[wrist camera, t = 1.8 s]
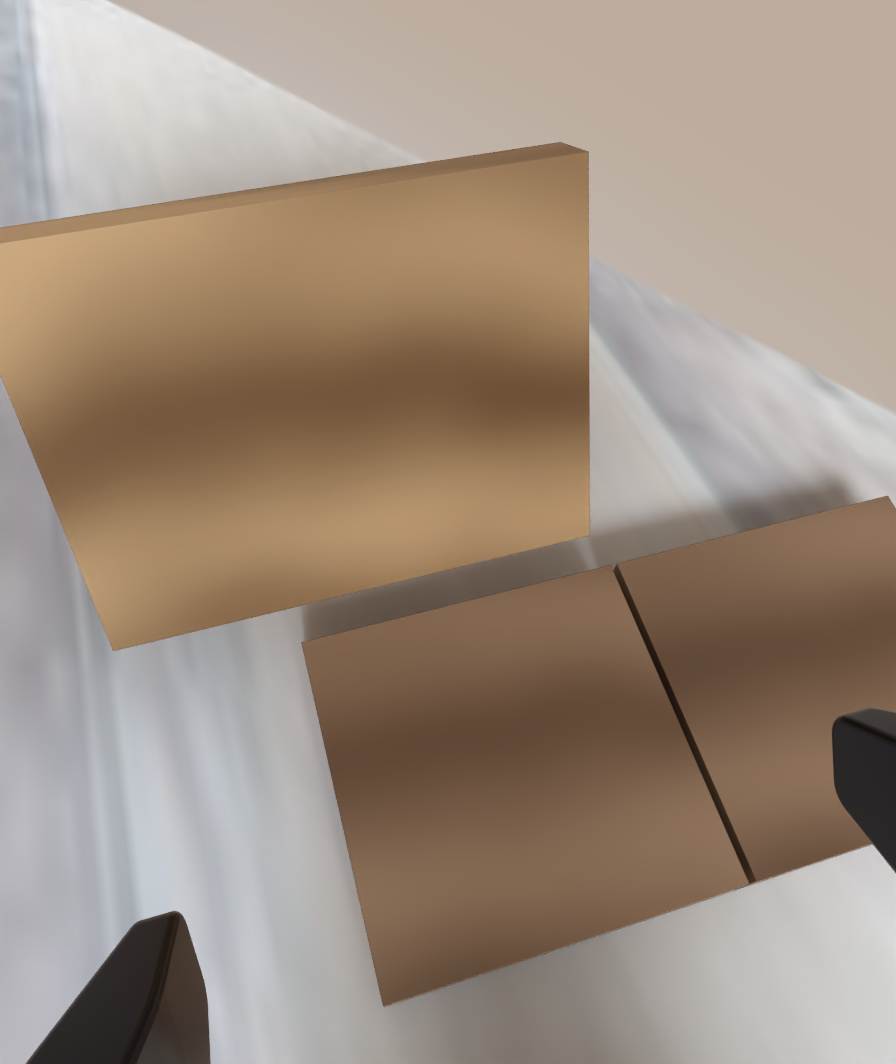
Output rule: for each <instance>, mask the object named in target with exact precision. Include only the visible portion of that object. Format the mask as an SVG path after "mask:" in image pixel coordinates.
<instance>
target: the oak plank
mask: <svg viewBox="0 0 896 1064" xmlns="http://www.w3.org/2000/svg"><path fill="white" fill-rule="evenodd" d="M588 154H589V152H588V151H585V150H581V149H579V148H576V147H573V146H570V145H567V144H564V143H561V142H559V143H552V144H545V145H538V146H532V147H525V148H519V149H512V150H506V151H500V152H493V153H486V154H480V155H473V156H467V157H460V158H454V159H447V160H440V161H434V162H427V163H421V164H414V165H408V166H401V167H395V168H388V169H381V170H375V171H368V172H362V173H355V174H349V175H342V176H336V177H329V178H323V179H316V180H309V181H303V182H296V183H290V184H283V185H277V186H270V187H264V188H257V189H251V190H244V191H238V192H231V193H224V194H218V195H211V196H205V197H198V198H192V199H185V200H179V201H172V202H166V203H159V204H152V205H146V206H139V207H133V208H126V209H120V210H113V211H107V212H100V213H94V214H87V215H81V216H74V217H67V218H61V219H54V220H48V221H41V222H35V223H28V224H22V225H15V226H9V227H2V228H0V375H1V378H2V380H3V383H4V385H5V387H6V390H7V392H8V395H9V397H10V400H11V402H12V405H13V407H14V409H15V412H16V414H17V417H18V419H19V422H20V424H21V427H22V429H23V431H24V434H25V436H26V439H27V441H28V444H29V446H30V448H31V451H32V453H33V456H34V458H35V461H36V463H37V466H38V468H39V470H40V473H41V475H42V478H43V480H44V483H45V485H46V488H47V490H48V492H49V495H50V497H51V500H52V502H53V505H54V507H55V510H56V512H57V514H58V517H59V519H60V522H61V524H62V527H63V529H64V532H65V534H66V536H67V539H68V541H69V544H70V546H71V549H72V551H73V554H74V556H75V558H76V561H77V563H78V566H79V568H80V571H81V573H82V575H83V578H84V580H85V583H86V585H87V588H88V590H89V593H90V595H91V597H92V600H93V602H94V605H95V607H96V610H97V612H98V615H99V617H100V619H101V622H102V624H103V627H104V629H105V632H106V634H107V637H108V639H109V641H110V644H111V646H112V649H113V651H116V650H120V649H124V648H128V647H132V646H137V645H141V644H145V643H149V642H153V641H157V640H161V639H165V638H170V637H174V636H178V635H182V634H186V633H190V632H194V631H198V630H203V629H207V628H211V627H215V626H219V625H223V624H227V623H231V622H236V621H240V620H244V619H248V618H252V617H256V616H260V615H264V614H269V613H273V612H277V611H281V610H285V609H289V608H293V607H297V606H301V605H306V604H310V603H314V602H318V601H322V600H326V599H330V598H334V597H339V596H343V595H347V594H351V593H355V592H359V591H363V590H367V589H372V588H376V587H380V586H384V585H388V584H392V583H396V582H400V581H405V580H409V579H413V578H417V577H421V576H425V575H429V574H433V573H438V572H442V571H446V570H450V569H454V568H458V567H462V566H466V565H471V564H475V563H479V562H483V561H487V560H491V559H495V558H499V557H504V556H508V555H512V554H516V553H520V552H524V551H528V550H532V549H536V548H541V547H545V546H549V545H553V544H557V543H561V542H565V541H569V540H574V539H578V538H582V537H586V536H590V473H589V168H588V167H589V155H588Z"/></svg>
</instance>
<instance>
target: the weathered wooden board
mask: <svg viewBox="0 0 896 1064" xmlns="http://www.w3.org/2000/svg"><path fill="white" fill-rule="evenodd" d="M301 643H302V647H303V652H304V656H305V661H306V665H307V670H308V674H309V678H310V683H311V687H312V692H313V696H314V701H315V705H316V710H317V714H318V718H319V723H320V727H321V732H322V736H323V741H324V745H325V750H326V754H327V758H328V763H329V767H330V772H331V776H332V781H333V785H334V790H335V794H336V799H337V803H338V807H339V812H340V816H341V821H342V825H343V830H344V834H345V839H346V843H347V847H348V852H349V856H350V861H351V865H352V870H353V874H354V879H355V883H356V887H357V892H358V896H359V901H360V905H361V910H362V914H363V919H364V923H365V927H366V932H367V936H368V941H369V945H370V950H371V954H372V959H373V963H374V968H375V972H376V976H377V981H378V985H379V990H380V994H381V999H382V1003H383V1006H384V1007H386V1006H389V1005H392V1004H395V1003H398V1002H401V1001H404V1000H407V999H410V998H413V997H416V996H419V995H422V994H425V993H428V992H431V991H434V990H437V989H440V988H443V987H446V986H449V985H452V984H455V983H458V982H461V981H464V980H467V979H470V978H473V977H476V976H479V975H482V974H485V973H488V972H491V971H494V970H497V969H500V968H503V967H506V966H509V965H512V964H515V963H518V962H521V961H524V960H527V959H530V958H533V957H536V956H539V955H542V954H545V953H548V952H551V951H554V950H557V949H560V948H563V947H566V946H569V945H572V944H575V943H578V942H581V941H584V940H587V939H590V938H593V937H596V936H599V935H602V934H605V933H608V932H611V931H614V930H617V929H620V928H623V927H626V926H629V925H632V924H635V923H638V922H641V921H644V920H647V919H650V918H653V917H656V916H659V915H662V914H665V913H668V912H671V911H674V910H677V909H680V908H683V907H686V906H689V905H692V904H695V903H698V902H701V901H704V900H707V899H710V898H713V897H716V896H719V895H722V894H725V893H727V892H730V891H733V890H737V889H740V888H743V887H746V886H749V885H752V884H755V883H758V882H761V881H764V880H767V879H770V878H773V877H776V876H779V875H782V874H785V873H788V872H791V871H794V870H797V869H800V868H803V867H806V866H809V865H812V864H815V863H818V862H821V861H824V860H827V859H830V858H833V857H836V856H839V855H842V854H845V853H848V852H851V851H854V850H857V849H860V848H863V847H866V846H869V845H872V842H871V841H870V840H869V839H868V837H867V836H866V835H865V833H864V832H863V831H862V830H861V828H860V827H859V826H858V825H857V823H856V822H855V821H854V820H853V818H852V817H851V816H850V815H849V813H848V812H847V811H846V810H845V808H844V807H843V805H842V804H841V802H840V800H839V798H838V796H837V793H836V790H835V786H834V775H833V751H832V726H833V723H834V721H835V720H836V719H837V718H838V717H839V716H842V715H845V714H848V713H852V712H855V711H859V710H862V709H865V708H876V709H881V710H886V711H891V712H896V508H895V506H894V505H893V503H892V502H891V500H890V499H889V497H888V496H884V497H880V498H876V499H872V500H868V501H864V502H860V503H856V504H852V505H848V506H844V507H841V508H837V509H833V510H829V511H825V512H821V513H817V514H813V515H809V516H805V517H801V518H797V519H793V520H789V521H785V522H781V523H777V524H773V525H769V526H765V527H761V528H757V529H753V530H749V531H745V532H741V533H737V534H733V535H729V536H725V537H721V538H717V539H713V540H709V541H705V542H701V543H697V544H693V545H689V546H685V547H681V548H677V549H673V550H669V551H665V552H661V553H657V554H653V555H649V556H645V557H641V558H637V559H633V560H629V561H625V562H621V563H617V565H616V567H615V569H614V571H613V569H612V567H611V565H609V566H605V567H601V568H597V569H593V570H589V571H585V572H581V573H577V574H573V575H569V576H565V577H561V578H557V579H553V580H549V581H545V582H541V583H537V584H533V585H529V586H525V587H521V588H517V589H513V590H509V591H505V592H501V593H497V594H493V595H489V596H485V597H481V598H477V599H473V600H469V601H465V602H461V603H457V604H453V605H449V606H445V607H441V608H437V609H433V610H429V611H425V612H421V613H417V614H413V615H409V616H405V617H401V618H397V619H393V620H389V621H385V622H381V623H377V624H373V625H369V626H365V627H361V628H357V629H353V630H349V631H345V632H341V633H337V634H333V635H329V636H325V637H321V638H317V639H313V640H309V641H305V642H301Z"/></svg>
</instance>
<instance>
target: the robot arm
mask: <svg viewBox="0 0 896 1064" xmlns="http://www.w3.org/2000/svg"><path fill="white" fill-rule="evenodd" d="M832 751H833V775H834V786H835V790H836V793H837V796H838V798H839V800H840V802H841V804H842V805H843V807H844V808H845V810H846V811H847V812H848V813H849V815H850V816H851V817H852V818H853V820H854V821H855V822H856V823H857V825H858V826H859V827H860V828H861V830H862V831H863V832H864V833H865V835H866V836H867V837H868V839H869V840H870V841H871V842H872V844H873V845H874V846H875V847H876V849H877V850H878V851H879V852H880V854H881V855H882V856H883V857H884V859H885V860H886V861H887V863H888V864H889V865H890V866H891V868H892V869H893V870H894V871H895V873H896V712H891V711H886V710H881V709H876V708H865V709H862V710H859V711H855V712H852V713H848V714H845V715H842V716H839V717H838V718H837V719H836V720H835V721H834V723H833V726H832ZM26 1064H210V1043H209V1021H208V1003H207V994H206V988H205V983H204V979H203V976H202V972H201V969H200V966H199V963H198V959H197V956H196V953H195V950H194V946H193V943H192V940H191V937H190V933H189V930H188V927H187V924H186V921H185V919H184V917H183V916H182V914H181V913H179V912H177V911H172V912H168V913H165V914H161V915H158V916H154V917H151V918H148V919H144V920H141V921H138V922H137V923H135V924H134V925H133V926H132V927H131V928H130V929H129V931H128V932H127V933H126V935H125V936H124V937H123V938H122V940H121V941H120V942H119V944H118V945H117V946H116V947H115V949H114V950H113V951H112V953H111V954H110V955H109V957H108V958H107V959H106V960H105V962H104V963H103V964H102V966H101V967H100V968H99V969H98V971H97V972H96V973H95V975H94V976H93V977H92V978H91V980H90V981H89V982H88V984H87V985H86V986H85V988H84V989H83V990H82V991H81V993H80V994H79V995H78V997H77V998H76V999H75V1000H74V1002H73V1003H72V1004H71V1006H70V1007H69V1008H68V1009H67V1011H66V1012H65V1013H64V1015H63V1016H62V1017H61V1019H60V1020H59V1021H58V1022H57V1024H56V1025H55V1026H54V1028H53V1029H52V1030H51V1031H50V1033H49V1034H48V1035H47V1037H46V1038H45V1039H44V1040H43V1042H42V1043H41V1044H40V1046H39V1047H38V1048H37V1049H36V1051H35V1052H34V1053H33V1055H32V1056H31V1057H30V1059H29V1060H28V1061H27V1062H26Z"/></svg>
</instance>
